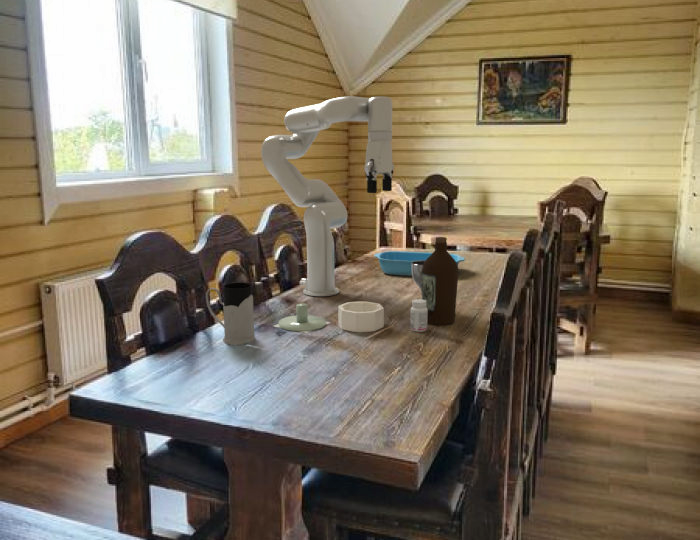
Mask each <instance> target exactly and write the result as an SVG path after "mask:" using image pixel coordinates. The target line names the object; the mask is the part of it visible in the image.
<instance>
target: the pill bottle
mask: <svg viewBox="0 0 700 540" xmlns="http://www.w3.org/2000/svg"><path fill="white" fill-rule="evenodd" d="M411 301H412V302H411V306H412V307H410V323H409V324H410V325H409V326H410V327H409V328H410V330H411V331H412V332H419V333H420V332H427V330H428V323H427V315H428V309H427V307H426V300H422V298H421V299H419V298H418V299H412V300H411Z"/></svg>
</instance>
